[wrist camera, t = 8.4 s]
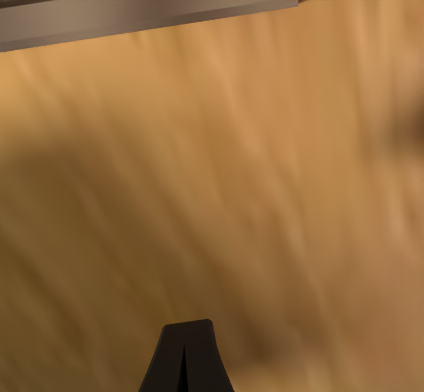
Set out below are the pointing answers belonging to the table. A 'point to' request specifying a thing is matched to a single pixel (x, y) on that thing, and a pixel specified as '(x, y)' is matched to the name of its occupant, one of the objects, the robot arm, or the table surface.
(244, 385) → the table surface
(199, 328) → the robot arm
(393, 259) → the table surface
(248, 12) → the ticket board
